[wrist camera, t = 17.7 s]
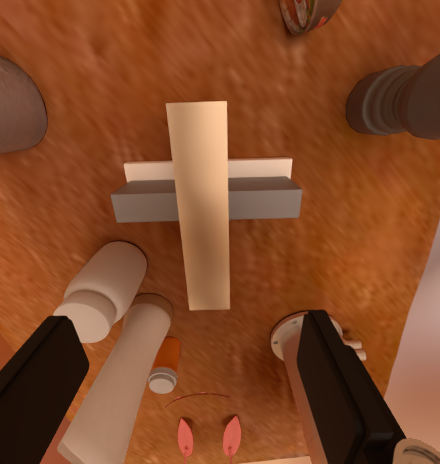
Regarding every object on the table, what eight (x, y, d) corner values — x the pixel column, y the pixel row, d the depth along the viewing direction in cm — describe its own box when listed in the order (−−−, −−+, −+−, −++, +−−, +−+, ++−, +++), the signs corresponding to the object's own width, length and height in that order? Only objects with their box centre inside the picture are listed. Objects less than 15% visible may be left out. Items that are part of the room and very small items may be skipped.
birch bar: (224, 105, 20) (226, 101, 15) (228, 278, 28) (230, 309, 23) (177, 107, 20) (165, 103, 15) (194, 279, 28) (189, 310, 23)
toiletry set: (89, 246, 34) (-64, 394, 16) (136, 233, 33) (32, 373, 15) (156, 355, 45) (112, 522, 26) (193, 347, 44) (175, 514, 25)
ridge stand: (289, 157, 29) (310, 168, 22) (283, 210, 32) (301, 234, 25) (127, 161, 29) (100, 174, 22) (138, 214, 32) (116, 239, 25)
